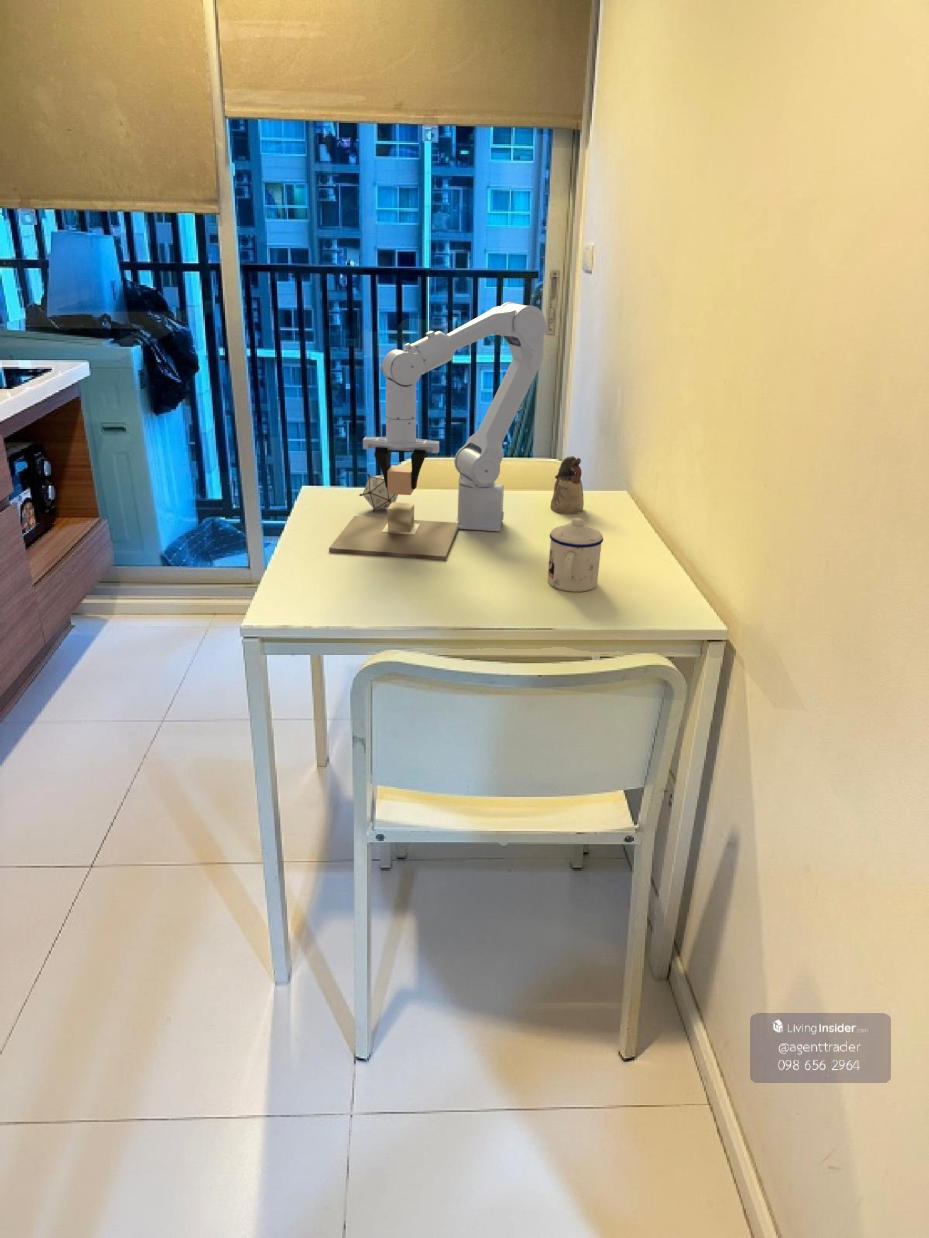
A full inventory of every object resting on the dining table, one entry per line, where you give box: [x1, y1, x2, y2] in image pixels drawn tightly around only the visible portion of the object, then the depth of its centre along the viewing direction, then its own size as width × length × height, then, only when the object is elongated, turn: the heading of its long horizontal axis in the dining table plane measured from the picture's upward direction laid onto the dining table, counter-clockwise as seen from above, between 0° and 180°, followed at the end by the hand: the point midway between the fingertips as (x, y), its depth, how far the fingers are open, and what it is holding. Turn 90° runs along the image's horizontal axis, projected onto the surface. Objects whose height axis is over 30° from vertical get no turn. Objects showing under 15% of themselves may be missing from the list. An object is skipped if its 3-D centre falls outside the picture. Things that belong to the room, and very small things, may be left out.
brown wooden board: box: [328, 515, 459, 561], centre depth 163 cm, size 22×20×1 cm
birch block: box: [387, 501, 415, 532], centre depth 165 cm, size 4×4×4 cm
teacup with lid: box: [547, 517, 604, 593], centre depth 141 cm, size 12×9×12 cm
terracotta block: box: [387, 464, 415, 496], centre depth 162 cm, size 4×4×4 cm
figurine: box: [549, 455, 585, 515], centre depth 182 cm, size 7×7×12 cm
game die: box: [358, 473, 399, 514], centre depth 178 cm, size 9×8×10 cm
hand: (401, 487), depth 163 cm, fingers closed on terracotta block, 4 cm apart
